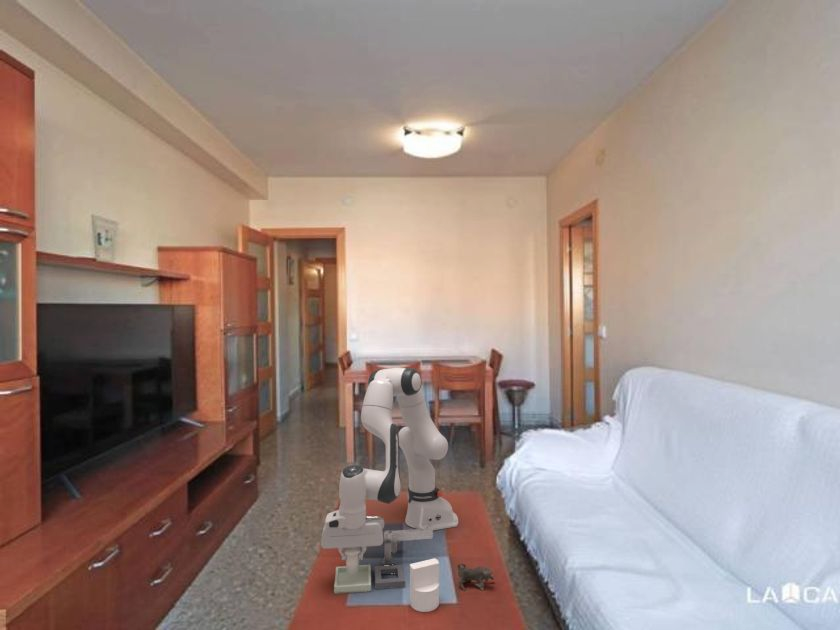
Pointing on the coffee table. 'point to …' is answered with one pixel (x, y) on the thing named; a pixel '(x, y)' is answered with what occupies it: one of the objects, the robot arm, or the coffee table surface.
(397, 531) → the grey square bar
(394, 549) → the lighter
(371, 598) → the coffee table surface
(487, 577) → the dog figurine
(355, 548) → the plug
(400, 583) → the socket
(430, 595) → the cylinder with rectangular tab
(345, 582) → the tray
